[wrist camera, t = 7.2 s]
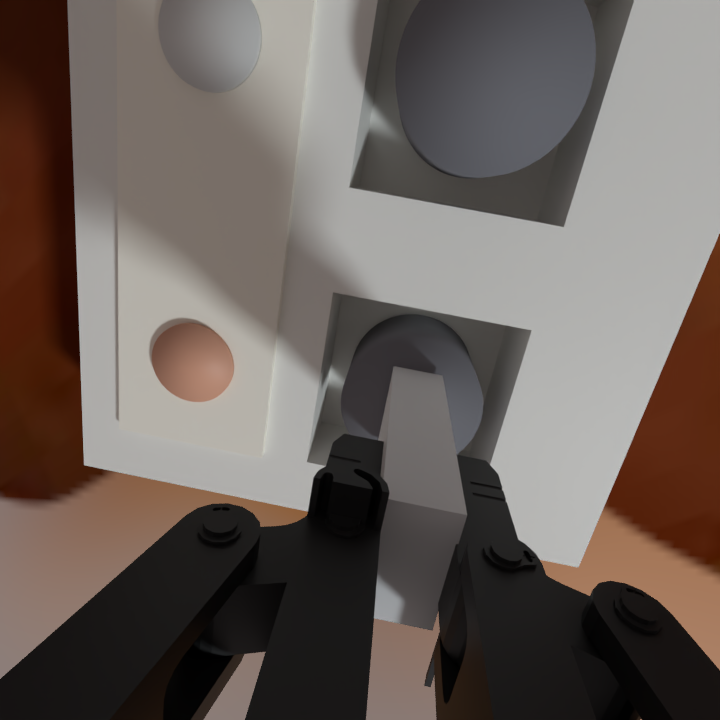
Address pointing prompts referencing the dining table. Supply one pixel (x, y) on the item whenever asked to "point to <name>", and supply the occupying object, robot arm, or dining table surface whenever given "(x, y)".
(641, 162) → the button board
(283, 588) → the robot arm
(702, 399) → the dining table surface
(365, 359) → the button
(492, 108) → the button
